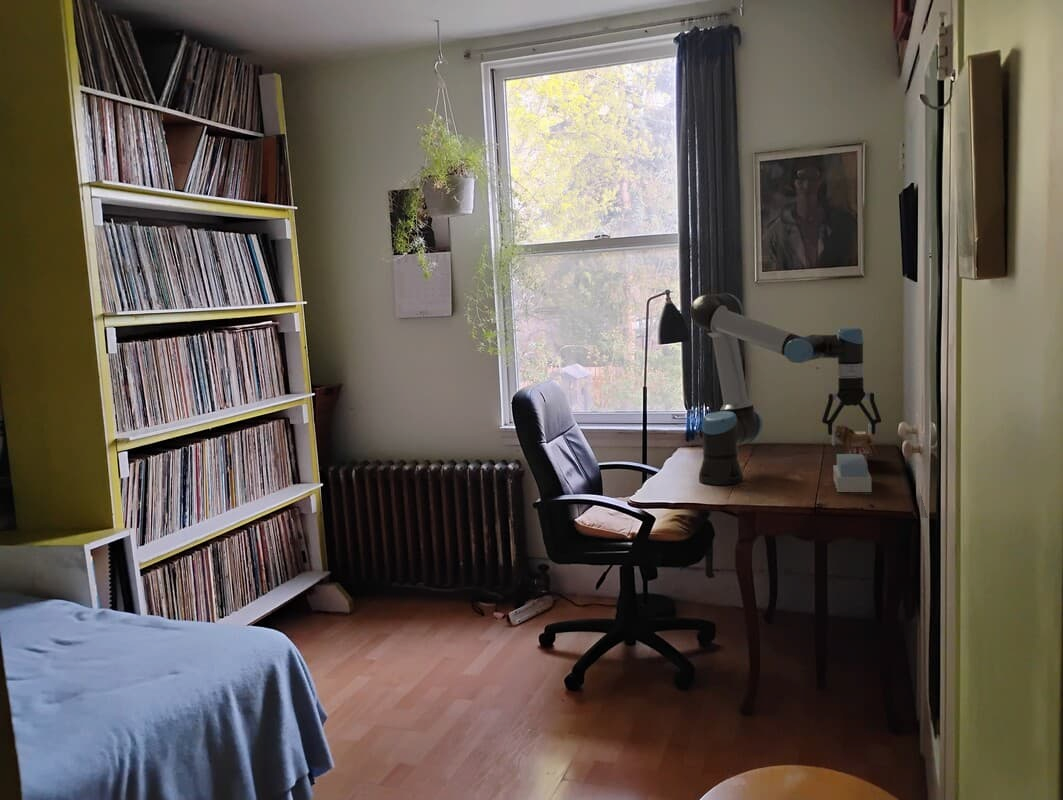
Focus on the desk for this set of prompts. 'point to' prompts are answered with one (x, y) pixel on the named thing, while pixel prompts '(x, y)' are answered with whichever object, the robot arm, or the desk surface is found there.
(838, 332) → the robot arm
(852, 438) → the lion figurine
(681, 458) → the desk surface
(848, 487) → the two-tone layered slab
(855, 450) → the stack of blocks
